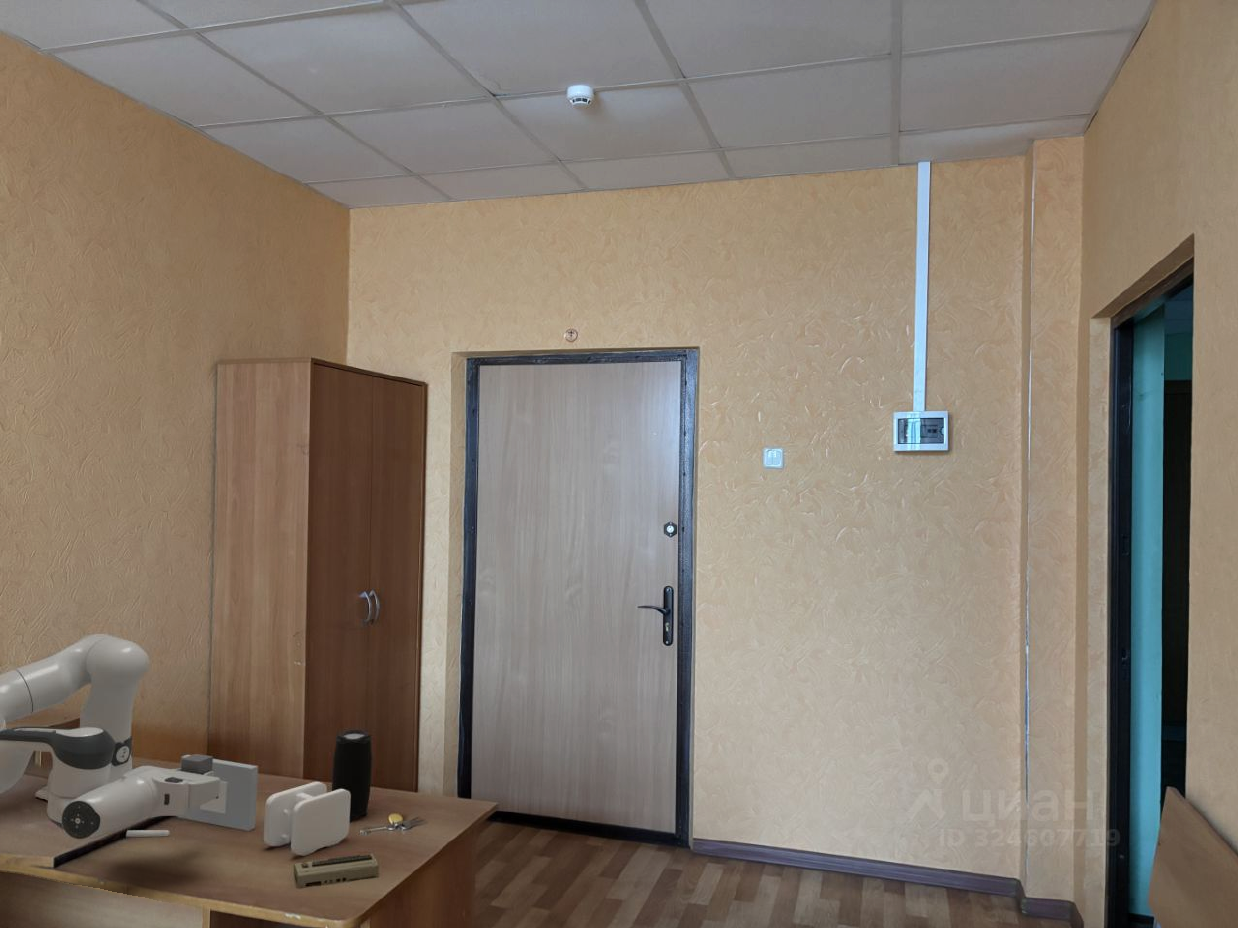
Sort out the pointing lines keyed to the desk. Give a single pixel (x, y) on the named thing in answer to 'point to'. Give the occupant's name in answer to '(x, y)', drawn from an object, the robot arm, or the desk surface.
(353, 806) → the portable speaker
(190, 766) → the block
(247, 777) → the outlet plate
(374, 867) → the computer
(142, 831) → the white rod
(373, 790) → the desk surface
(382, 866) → the desk surface
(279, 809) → the organizer
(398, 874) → the desk surface
